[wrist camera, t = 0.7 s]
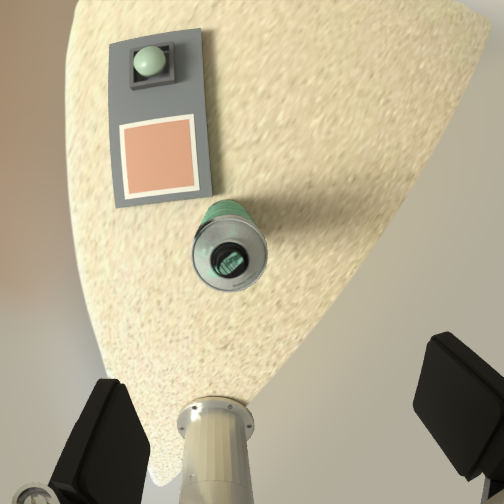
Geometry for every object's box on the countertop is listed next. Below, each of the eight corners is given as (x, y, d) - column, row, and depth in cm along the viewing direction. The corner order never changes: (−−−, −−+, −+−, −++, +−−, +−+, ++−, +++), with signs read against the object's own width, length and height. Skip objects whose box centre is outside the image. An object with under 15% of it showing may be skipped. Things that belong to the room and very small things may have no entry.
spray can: (198, 235, 39) (174, 291, 19) (213, 193, 38) (201, 208, 18) (239, 249, 40) (256, 317, 20) (255, 208, 39) (287, 238, 19)
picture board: (212, 195, 38) (211, 197, 35) (119, 207, 37) (111, 209, 34) (201, 32, 33) (200, 22, 30) (112, 48, 32) (105, 39, 29)
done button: (166, 74, 31) (164, 70, 29) (136, 79, 31) (133, 75, 29) (165, 48, 30) (163, 43, 29) (137, 54, 30) (133, 49, 28)
